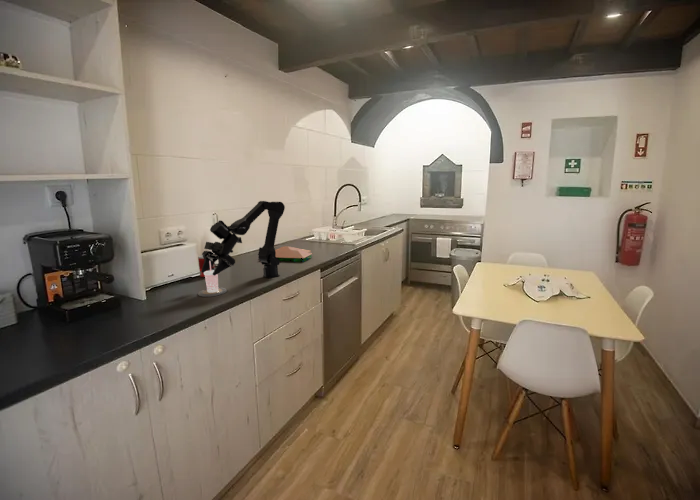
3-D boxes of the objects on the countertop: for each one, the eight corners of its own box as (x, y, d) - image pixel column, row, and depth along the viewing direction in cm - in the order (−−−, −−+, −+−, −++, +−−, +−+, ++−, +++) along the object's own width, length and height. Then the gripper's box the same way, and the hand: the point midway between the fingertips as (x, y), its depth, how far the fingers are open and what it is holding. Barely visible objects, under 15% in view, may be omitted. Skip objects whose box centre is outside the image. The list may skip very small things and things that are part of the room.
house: (273, 254, 248) (272, 242, 246) (317, 255, 238) (317, 243, 237) (256, 261, 226) (255, 249, 225) (304, 263, 217) (303, 250, 215)
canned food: (210, 278, 187) (208, 257, 185) (197, 277, 189) (194, 257, 187) (218, 274, 194) (216, 254, 192) (205, 274, 196) (203, 254, 194)
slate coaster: (221, 287, 169) (220, 285, 169) (230, 292, 160) (230, 291, 160) (194, 292, 162) (194, 291, 161) (203, 298, 152) (203, 297, 152)
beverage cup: (218, 292, 158) (215, 261, 156) (203, 293, 158) (200, 262, 155) (221, 288, 164) (218, 259, 162) (207, 289, 164) (204, 259, 161)
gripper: (203, 233, 165) (183, 261, 158) (226, 236, 153) (205, 266, 147) (220, 247, 172) (201, 274, 166) (243, 251, 161) (224, 280, 154)
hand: (207, 273), depth 158 cm, fingers open, 9 cm apart
